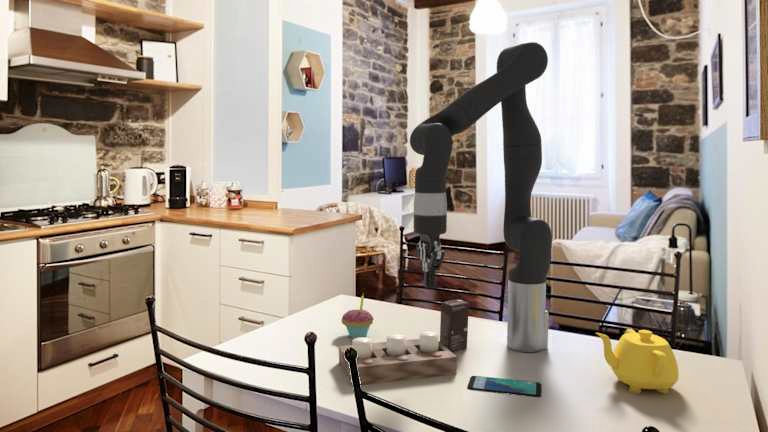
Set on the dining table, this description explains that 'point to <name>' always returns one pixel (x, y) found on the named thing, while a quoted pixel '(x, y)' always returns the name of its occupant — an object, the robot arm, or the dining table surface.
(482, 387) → the smartphone
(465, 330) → the box
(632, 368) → the teapot
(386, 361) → the board
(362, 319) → the cupcake
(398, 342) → the button
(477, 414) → the dining table surface
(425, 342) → the button
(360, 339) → the button
